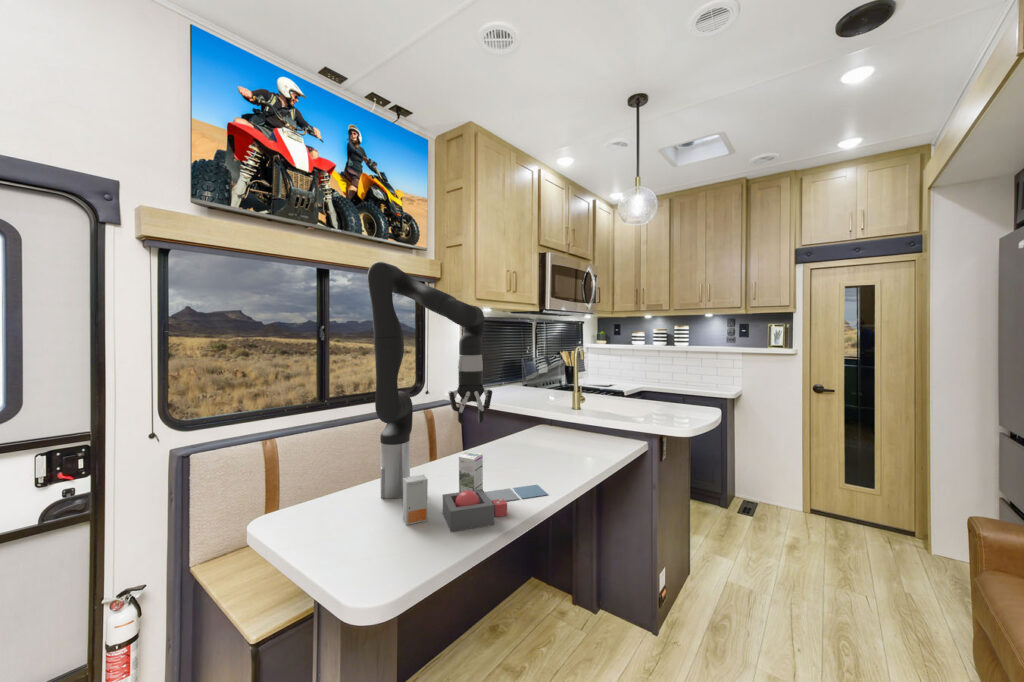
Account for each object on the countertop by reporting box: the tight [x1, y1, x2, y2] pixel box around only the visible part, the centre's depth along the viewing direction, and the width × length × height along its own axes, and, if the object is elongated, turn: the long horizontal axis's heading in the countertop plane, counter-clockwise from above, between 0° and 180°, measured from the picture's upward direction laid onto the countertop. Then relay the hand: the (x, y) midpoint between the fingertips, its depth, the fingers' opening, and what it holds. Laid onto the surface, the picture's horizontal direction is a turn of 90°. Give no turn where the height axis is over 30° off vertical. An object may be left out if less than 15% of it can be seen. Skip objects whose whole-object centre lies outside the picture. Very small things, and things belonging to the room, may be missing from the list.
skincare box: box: [402, 474, 428, 526], centre depth 114 cm, size 6×4×12 cm
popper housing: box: [442, 488, 508, 533], centre depth 115 cm, size 17×12×6 cm
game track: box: [484, 484, 549, 502], centre depth 130 cm, size 30×9×1 cm, turn 110°
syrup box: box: [458, 451, 484, 492], centre depth 127 cm, size 6×6×14 cm
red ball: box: [455, 490, 480, 507], centre depth 114 cm, size 7×7×7 cm
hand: (470, 423), depth 127 cm, fingers open, 5 cm apart
